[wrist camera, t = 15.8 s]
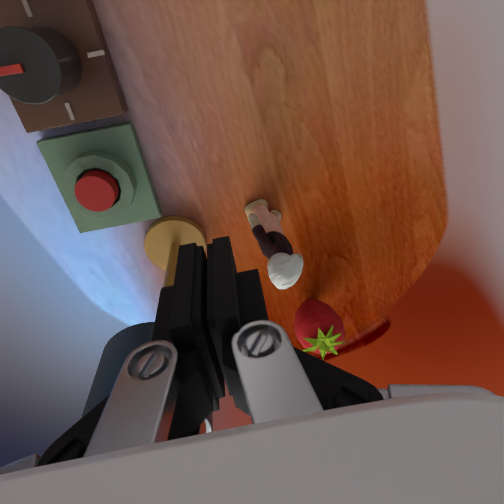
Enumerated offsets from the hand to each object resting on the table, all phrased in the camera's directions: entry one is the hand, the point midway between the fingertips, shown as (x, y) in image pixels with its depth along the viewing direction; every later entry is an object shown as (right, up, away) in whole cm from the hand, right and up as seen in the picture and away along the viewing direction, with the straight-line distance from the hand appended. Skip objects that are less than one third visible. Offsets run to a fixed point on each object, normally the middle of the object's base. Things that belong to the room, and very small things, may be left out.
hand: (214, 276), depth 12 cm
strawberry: (+9, -6, +37) cm, 39 cm away
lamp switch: (-14, +7, +23) cm, 28 cm away
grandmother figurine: (+3, +5, +30) cm, 30 cm away
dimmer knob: (-15, +17, +17) cm, 29 cm away
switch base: (-14, +8, +25) cm, 30 cm away
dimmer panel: (-16, +18, +19) cm, 30 cm away
